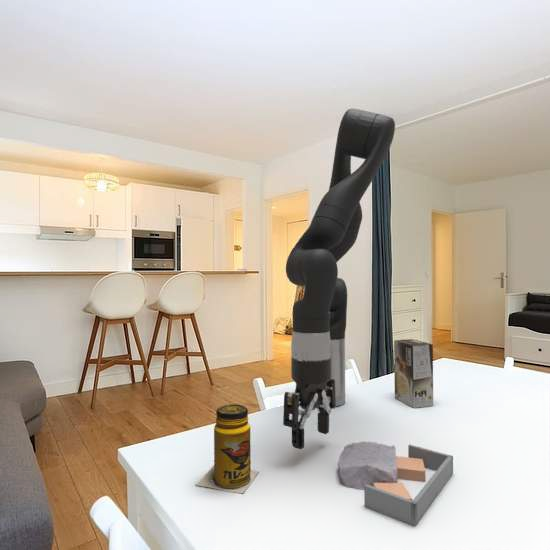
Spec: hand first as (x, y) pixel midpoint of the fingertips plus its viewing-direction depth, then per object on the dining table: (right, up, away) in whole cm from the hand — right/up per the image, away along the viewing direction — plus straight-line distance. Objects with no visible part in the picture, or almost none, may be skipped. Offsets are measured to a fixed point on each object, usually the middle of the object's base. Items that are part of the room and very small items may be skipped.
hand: (311, 440), depth 75 cm
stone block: (+9, -3, -7) cm, 12 cm away
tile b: (+16, -3, -7) cm, 18 cm away
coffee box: (+30, -3, +31) cm, 43 cm away
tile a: (+11, -3, -16) cm, 19 cm away
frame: (+15, -3, -12) cm, 19 cm away
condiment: (-15, -3, -9) cm, 17 cm away
